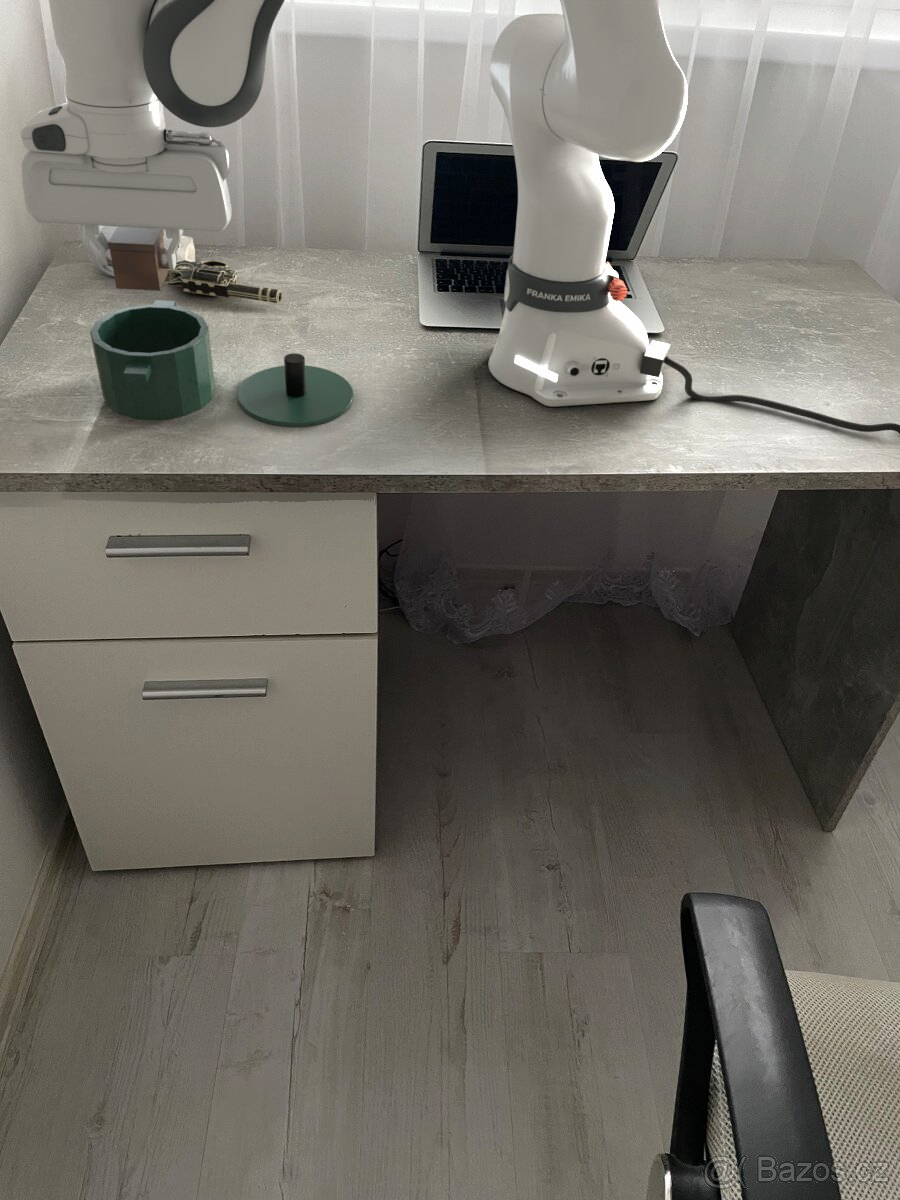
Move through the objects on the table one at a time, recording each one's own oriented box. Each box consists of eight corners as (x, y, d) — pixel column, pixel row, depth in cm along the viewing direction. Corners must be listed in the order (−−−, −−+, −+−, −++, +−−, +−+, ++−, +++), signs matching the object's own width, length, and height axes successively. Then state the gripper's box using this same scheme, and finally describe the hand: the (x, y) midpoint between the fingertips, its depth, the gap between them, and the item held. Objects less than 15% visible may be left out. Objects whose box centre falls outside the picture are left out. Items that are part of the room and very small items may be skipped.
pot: (224, 361, 119) (217, 297, 114) (202, 438, 106) (194, 370, 100) (122, 357, 118) (110, 292, 113) (87, 435, 105) (72, 365, 99)
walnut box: (169, 273, 105) (163, 227, 102) (161, 291, 101) (154, 245, 98) (124, 270, 105) (117, 225, 101) (115, 289, 101) (107, 242, 98)
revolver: (305, 277, 140) (278, 314, 131) (173, 257, 142) (137, 292, 133) (303, 250, 137) (276, 286, 128) (169, 231, 139) (132, 265, 130)
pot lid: (355, 375, 119) (355, 333, 115) (351, 433, 109) (351, 389, 105) (245, 371, 118) (242, 328, 114) (231, 429, 108) (226, 385, 104)
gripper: (230, 124, 96) (241, 259, 105) (22, 111, 94) (51, 249, 103) (222, 143, 91) (234, 282, 100) (2, 130, 89) (35, 273, 99)
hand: (139, 265), depth 102 cm, fingers closed on walnut box, 4 cm apart
